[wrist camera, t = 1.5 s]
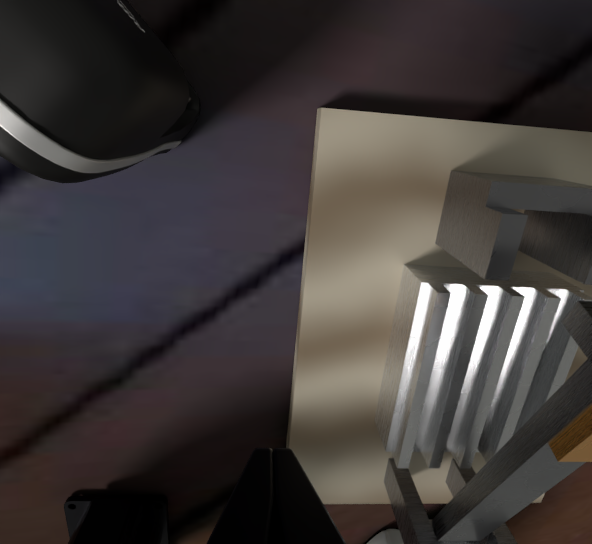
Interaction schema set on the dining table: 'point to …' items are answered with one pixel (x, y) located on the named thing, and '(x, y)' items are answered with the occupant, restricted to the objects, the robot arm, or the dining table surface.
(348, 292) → the base board
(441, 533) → the strap
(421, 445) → the finned block
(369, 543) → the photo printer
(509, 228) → the bracket
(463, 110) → the dining table surface
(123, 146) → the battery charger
